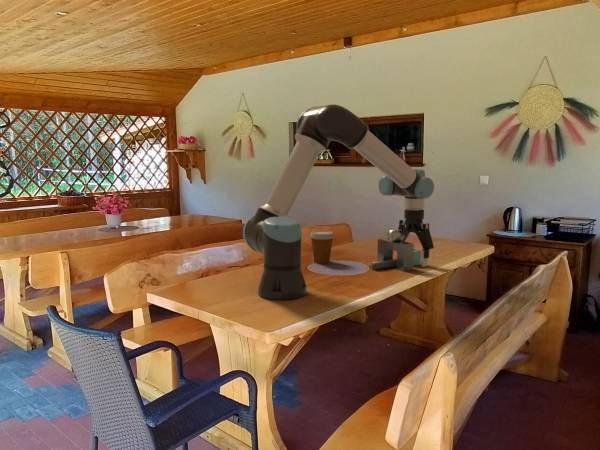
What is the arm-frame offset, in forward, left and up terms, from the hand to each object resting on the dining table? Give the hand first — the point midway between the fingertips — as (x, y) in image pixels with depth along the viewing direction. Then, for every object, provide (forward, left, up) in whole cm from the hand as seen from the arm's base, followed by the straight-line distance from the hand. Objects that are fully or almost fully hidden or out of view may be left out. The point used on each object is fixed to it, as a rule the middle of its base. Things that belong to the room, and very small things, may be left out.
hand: (412, 263), depth 195 cm
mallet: (-9, 0, 0) cm, 9 cm away
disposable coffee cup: (-29, +22, 0) cm, 36 cm away
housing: (-10, 0, 0) cm, 10 cm away
